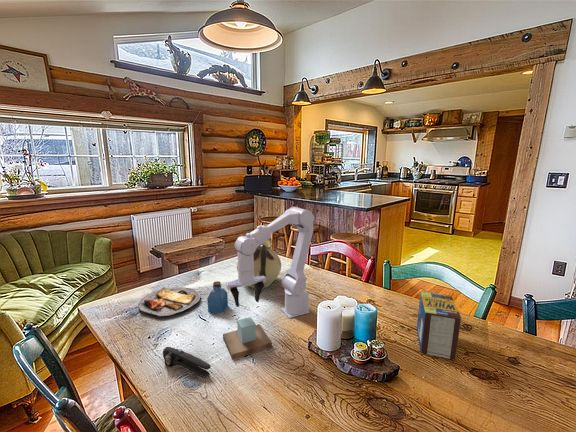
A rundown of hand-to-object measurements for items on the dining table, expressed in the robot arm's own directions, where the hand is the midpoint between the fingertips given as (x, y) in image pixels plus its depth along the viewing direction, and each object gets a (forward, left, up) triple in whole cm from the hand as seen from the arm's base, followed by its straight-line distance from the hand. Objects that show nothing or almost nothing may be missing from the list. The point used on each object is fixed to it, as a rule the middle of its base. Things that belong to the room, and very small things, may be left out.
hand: (247, 303), depth 107 cm
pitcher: (-18, -34, -11) cm, 40 cm away
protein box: (-56, +37, -11) cm, 68 cm away
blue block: (+3, +8, -9) cm, 12 cm away
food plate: (+25, -33, -11) cm, 43 cm away
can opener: (+24, +12, -11) cm, 28 cm away
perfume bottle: (+7, -19, -11) cm, 23 cm away
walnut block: (+3, +8, -11) cm, 14 cm away
